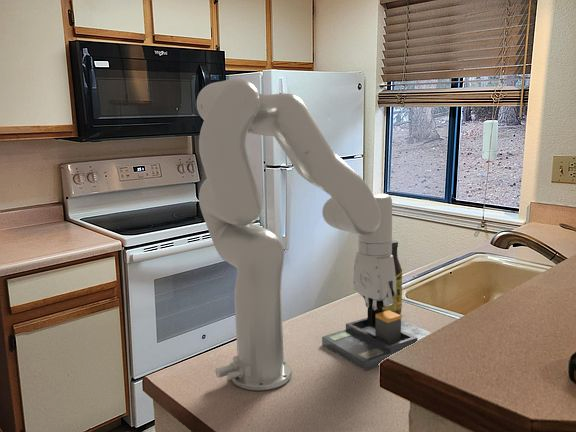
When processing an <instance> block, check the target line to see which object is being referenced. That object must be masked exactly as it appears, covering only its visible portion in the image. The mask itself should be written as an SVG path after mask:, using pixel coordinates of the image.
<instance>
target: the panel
mask: <svg viewBox="0 0 576 432" xmlns="http://www.w3.org/2000/svg"><path fill="white" fill-rule="evenodd" d="M430 333H432V332H430V331H428V330H426V329H425V328H422V327H419V326H417V325H415V324H412V323H410V322H408V321H405V320H403V319H401V341H398V342H395V343H392V344H390V343H388V342H386V341H384V340H382V339H380V338H378V337H376V325H375V326H372V325H371V324H368V317H365V318H362V319H361V318H360V319H358V320H354V321H352V322H347V323H345V329H344V330H339V331H337V332H333V333H330V334H326V335H324V336H322V337H321V342H322V343H321V345H322V346H324V347H325V348H327V349H328V350H330V351H332V352H334V353H335V354H337V355H338V356H340V357H342V358H343V359H345V360H346V361H348V362H350V363H351V364H353V365H355V366H357V367H359V368H360V369H361V370H364V371H365V372H367V371H370V370H372V369H375V368H378V367H380V366H379V365H378V364H379V363H380V362H381V361H382V360H384V359H385V358H387V357H389V356H390V355H392V354H394V353H396V352H398V351H400V350H402V349H403V348H405V347H407V346H409V345H411V344H413V343H415V342H416V341H418V340H419V339H421V338H423V337H425V336H427V335H429V334H430Z"/></svg>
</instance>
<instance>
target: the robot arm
mask: <svg viewBox="0 0 576 432" xmlns="http://www.w3.org/2000/svg"><path fill="white" fill-rule="evenodd" d="M196 109H197V113H198V115H199V116H200V118H201V119H202V120H203V122H202V126H201V128H200V132H199V139H198V152H199V155H200V156H199V157H200V159H201V164H202V166H203V170H204V174H205V176H206V179H205V180H204V181H203V183H202V184H201V186H200V188H199V191H198V202H199V203H198V204H199V208H200V211H201V215H202V216H203V219H204V222H205V226H206V227H207V230H208V232H209V236H210V238H211V241H212V243H213V245H214V247H215V250H216V252H217V253H218V255H219V257H220V258H221V259H222V260H224V262H226V263H228V264H230V265H231V266H233V267H234V268H236V280H235V284H234V294H233V295H234V296H233V297H234V298H233V300H234V301H233V303H234V313H235V314H234V316H235V334H236V335H235V337H236V351H237V353H236V354H237V355H235V356H233V357H232V362H229V364H227V365H224V366H220V367H217V368H216V369H215V374H216V377H217V378H218V379H221V378H223V377H227V379H228V380H229V381H230V380H231V382H232V383H233V384H234V385H236V386H237V387H239V388H242V389H244V390H249V391H267V390H274V389H276V388H279V387H282V386H283V385H285V384H286V383H288V381H290V379H291V377H292V373H293V372H292V367H291V365H290V363H288V362H287V361H285V360H284V358H285V357H284V331H283V330H284V329H283V327H284V326H283V304H282V303H283V302H282V282H283V281H282V277H283V270H284V264H285V249H284V246H283V243H282V241H281V240H280V238H279V237H278V236H277V235H276V234H275V233H274V232H272V231H271V230H269V229H267V228H264V227H262V226H259V225H257V224H253V223H255V222H256V221H257V220H258V219H259V217H260V215H261V214H262V210H263V200H262V195H261V192H260V190H259V186H258V184H257V181H256V179H255V175H254V172H253V169H252V165H251V164H250V160H249V157H248V153H247V148H246V147H247V146H246V140H247V134H251V135H258V136H267V137H274V138H275V141H276V142H277V143H278V145H279V146H280V148H281V149H282V150H283V152H284V154H285V155H286V157H287V158H288V159H289V161H290V163H291V165H292V166H293V167H294V169H295V170H296V172H297V173H298V175H299V176H301V177H302V178H303V179H304V180H306V181H307V182H309V183H310V184H312V185H314V186H315V187H317V188H319V189H320V190H322V191H323V192H325V193H326V194H327V195H329V197H330V198H329V199H328V200H326V202H325V203H324V204H323V206H322V217H323V220H324V221H325V223H326V224H328V225H329V226H330V227H332V228H335V229H337V230H339V231H340V230H341V231H344V232H348V233H351V234H355V235H357V236H358V241H357V242H358V246H357V247H358V250H357V251H356V254H355V258H354V264H353V281H352V282H353V284H352V287H353V288H352V289H353V290H354V291H355V292H356V293H357V294H358V295H360V296H361V297H363V300H364V303H365V307H366V308H367V318H368V324H371V325H372V326H375V325H376V314H377V313H381V312H382V308H384V307H385V306H389V305H393V299H392V297H394V296H395V292H396V276H395V265H394V259H393V255H392V240H393V199H392V196H390V195H389V194H388V193H383V192H382V193H381V192H372V191H371V188H370V187H369V185H368V184H367V183H366V181H365V180H364V179H363V178H362V177H361V176H360V175H359V174H358V173H357V171H355V170H354V169H353V168H352V167H351V166H350V165H349V164H348V163H347V162H346V161H345V160H344V159H343V158H342V157H340V155H338V154H337V153H336V152H334V150H333V148H332V147H331V145H330V143H329V141H328V140H327V139H326V137H325V136H324V134H323V132H322V130H321V129H320V127H319V125H318V124H317V122H316V120H315V119H314V117H313V116H312V113H311V112H310V111H309V108H308V107H307V106H306V104H305V102H304V101H303V100H302V99H301V97H299V96H297V95H296V94H293V93H286V92H285V93H284V92H283V93H274V94H272V93H271V94H264V93H259V90H258V89H257V88H256V86H255V85H254V84H253V83H251V82H250V81H248V80H246V79H242V78H233V79H232V78H231V79H227V80H221V81H216V82H212V83H209V84H207V85H206V86H204V87H203V88H202V89H200V91H199V93H198V95H197V99H196Z"/></svg>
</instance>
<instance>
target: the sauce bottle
mask: <svg viewBox="0 0 576 432" xmlns="http://www.w3.org/2000/svg"><path fill="white" fill-rule="evenodd" d="M398 246H399V242H398V240H395V239H392V255H393V259H394V265H395V276H396V292H395V296H394V297H392V299H393V305H389V306H385V307H384V308H382V312H384V311H388V310H390V311H392V312H394V313H397V314H399V315H401V313H402V308H403V269H402V267H401V264H400V261H399V258H398Z"/></svg>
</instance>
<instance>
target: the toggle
mask: <svg viewBox="0 0 576 432" xmlns="http://www.w3.org/2000/svg"><path fill="white" fill-rule="evenodd" d="M401 320H402V315H401V314H400V315H399V314H397V313H394V312H392V311H390V310H388V311H384V312H381V313H377V314H376V337H378V338H380V339H382V340H384V341H386V342H388V343H390V344H392V343H395V342H398V341H401Z"/></svg>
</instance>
